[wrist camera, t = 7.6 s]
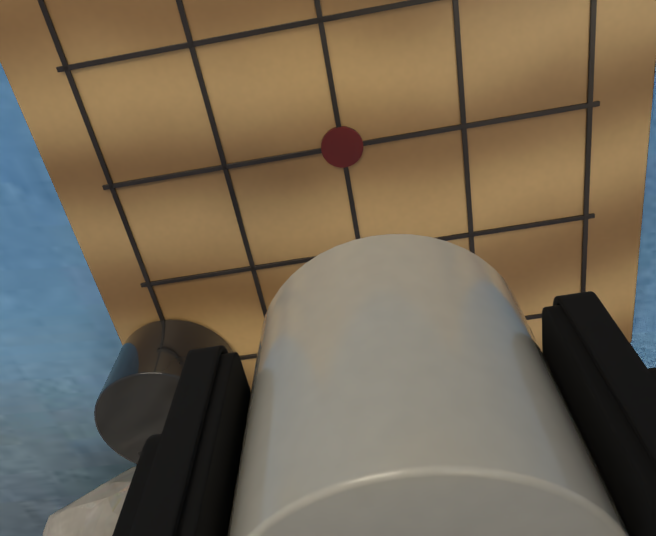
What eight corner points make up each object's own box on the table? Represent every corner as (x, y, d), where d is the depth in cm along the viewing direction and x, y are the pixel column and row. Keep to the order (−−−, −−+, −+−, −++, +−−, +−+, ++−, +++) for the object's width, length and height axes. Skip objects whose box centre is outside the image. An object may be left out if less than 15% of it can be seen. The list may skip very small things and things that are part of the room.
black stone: (102, 328, 24) (73, 382, 21) (221, 310, 24) (207, 364, 21) (142, 417, 26) (120, 477, 24) (251, 403, 26) (242, 462, 23)
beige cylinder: (231, 256, 10) (159, 503, 6) (520, 210, 10) (666, 440, 6) (290, 457, 13) (269, 738, 8) (525, 426, 12) (632, 706, 8)
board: (-61, -144, 18) (-94, -148, 16) (661, -307, 16) (693, -328, 14) (157, 384, 28) (148, 410, 26) (616, 321, 26) (633, 344, 24)
